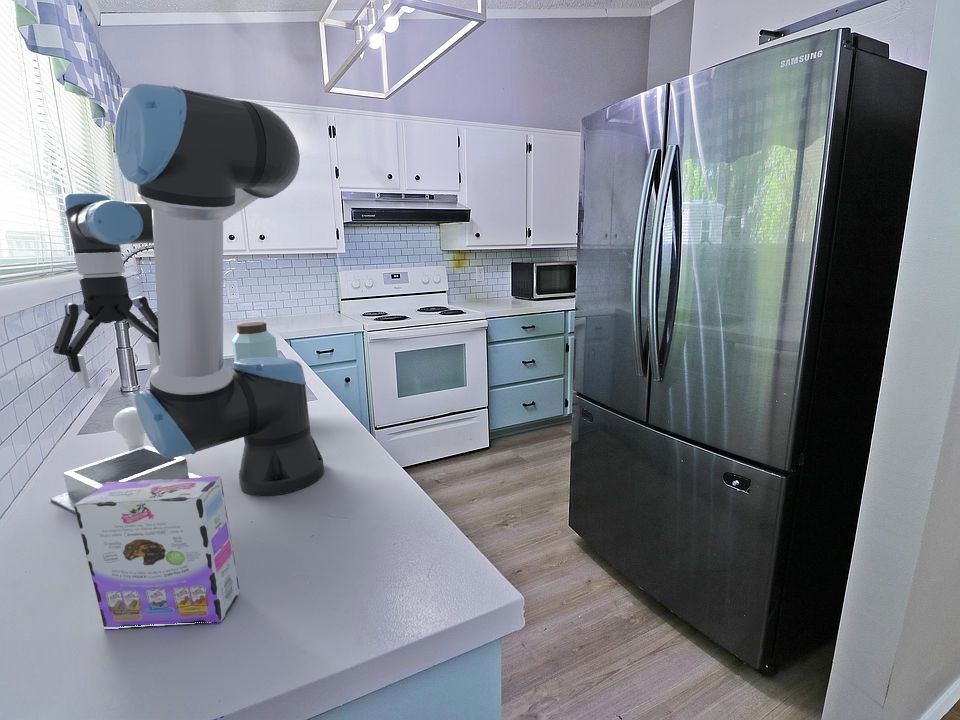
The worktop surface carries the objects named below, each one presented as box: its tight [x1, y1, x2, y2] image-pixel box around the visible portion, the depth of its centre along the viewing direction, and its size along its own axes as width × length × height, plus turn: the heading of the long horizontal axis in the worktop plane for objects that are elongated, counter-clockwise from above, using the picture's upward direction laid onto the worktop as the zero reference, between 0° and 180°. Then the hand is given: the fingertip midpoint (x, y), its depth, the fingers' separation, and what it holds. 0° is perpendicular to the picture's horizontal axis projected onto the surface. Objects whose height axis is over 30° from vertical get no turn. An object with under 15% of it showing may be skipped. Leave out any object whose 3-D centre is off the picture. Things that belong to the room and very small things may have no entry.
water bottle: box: [231, 321, 279, 362], centre depth 127 cm, size 10×10×25 cm
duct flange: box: [50, 445, 201, 515], centre depth 94 cm, size 18×18×5 cm
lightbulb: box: [112, 406, 146, 451], centre depth 109 cm, size 6×6×11 cm
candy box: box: [74, 475, 241, 628], centre depth 61 cm, size 14×6×16 cm, turn 92°
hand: (122, 379), depth 106 cm, fingers open, 13 cm apart
